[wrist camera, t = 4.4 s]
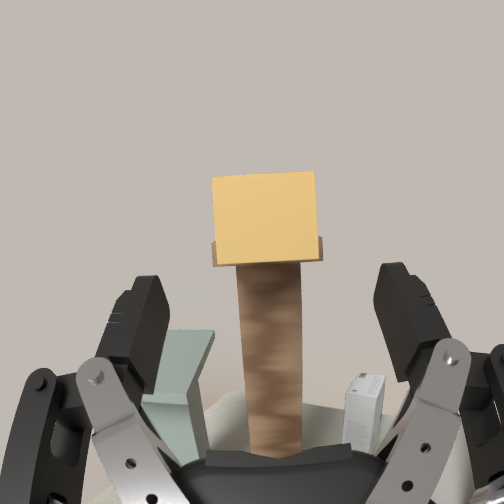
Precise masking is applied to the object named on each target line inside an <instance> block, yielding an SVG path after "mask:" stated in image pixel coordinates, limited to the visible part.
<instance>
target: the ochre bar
mask: <svg viewBox="0 0 504 504" xmlns="http://www.w3.org/2000/svg"><path fill="white" fill-rule="evenodd" d="M212 188H213V206H214V221H215V236H216V251H217V264H234V263H253V262H272V261H290V260H307V259H319V247H318V224H317V205H316V191H315V174H314V172H286V173H266V174H250V175H237V176H236V175H235V176H223V177H212Z"/></svg>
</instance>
